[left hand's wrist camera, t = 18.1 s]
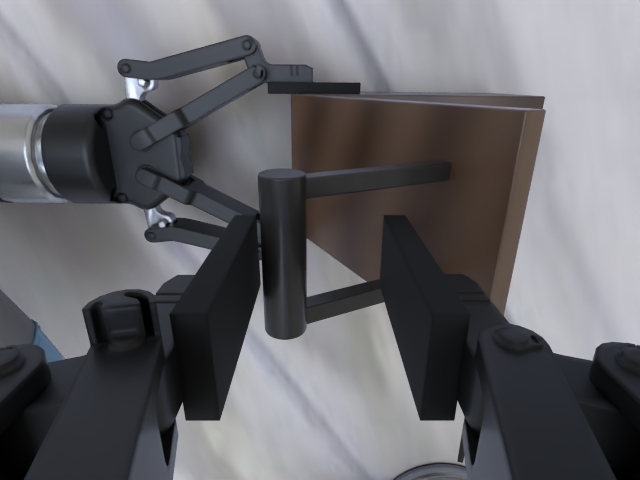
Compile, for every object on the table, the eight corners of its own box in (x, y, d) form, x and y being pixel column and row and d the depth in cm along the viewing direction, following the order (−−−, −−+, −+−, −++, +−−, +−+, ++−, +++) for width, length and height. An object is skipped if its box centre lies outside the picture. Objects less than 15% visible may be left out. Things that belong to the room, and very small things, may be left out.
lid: (546, 109, 13) (303, 117, 9) (496, 356, 16) (304, 437, 12) (304, 93, 27) (171, 94, 23) (304, 226, 30) (189, 245, 26)
